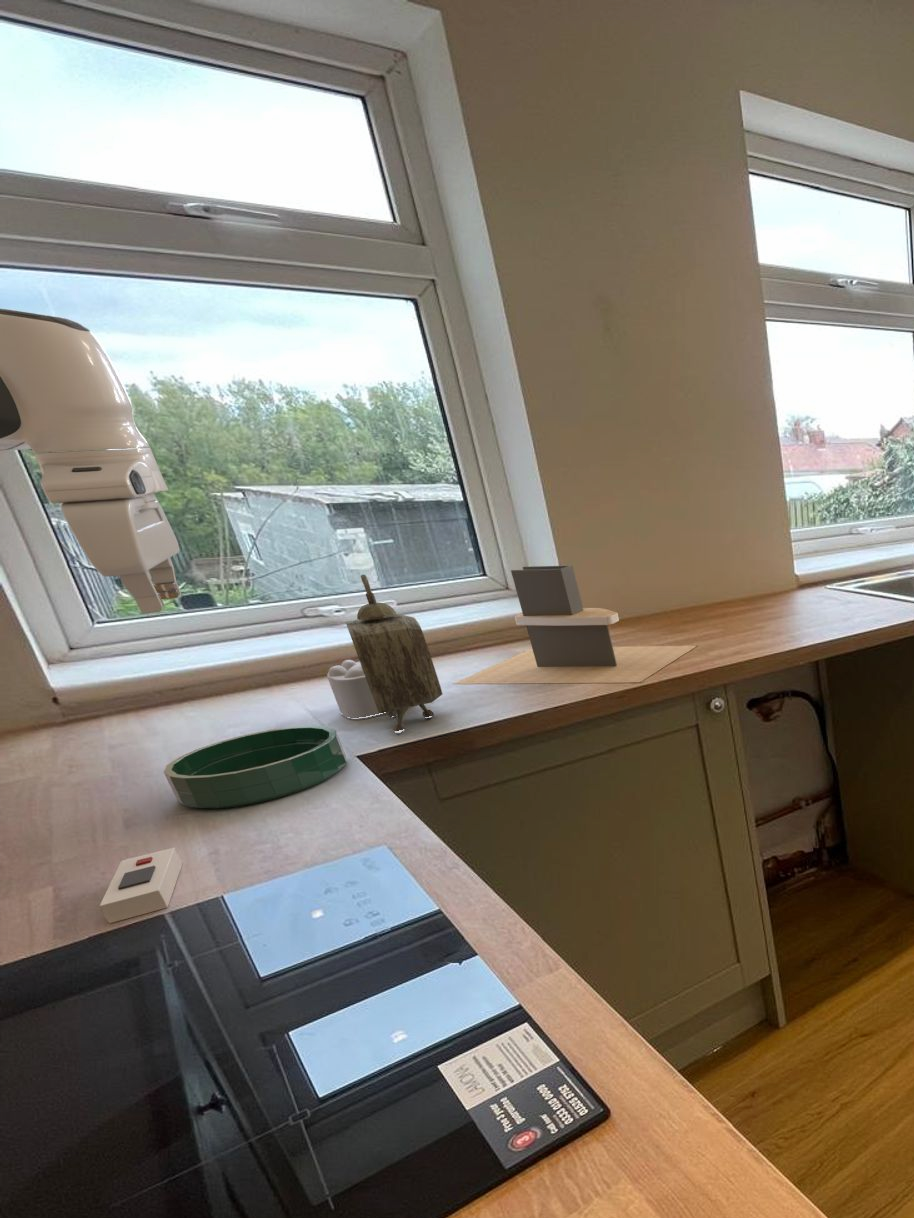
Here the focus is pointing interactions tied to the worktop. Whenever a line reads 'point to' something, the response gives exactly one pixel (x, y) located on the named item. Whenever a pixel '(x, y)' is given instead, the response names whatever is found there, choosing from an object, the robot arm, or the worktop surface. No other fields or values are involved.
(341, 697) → the lumpy-topped squat cylinder
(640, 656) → the architectural model
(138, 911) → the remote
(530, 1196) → the worktop surface
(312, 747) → the bowl
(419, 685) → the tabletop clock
